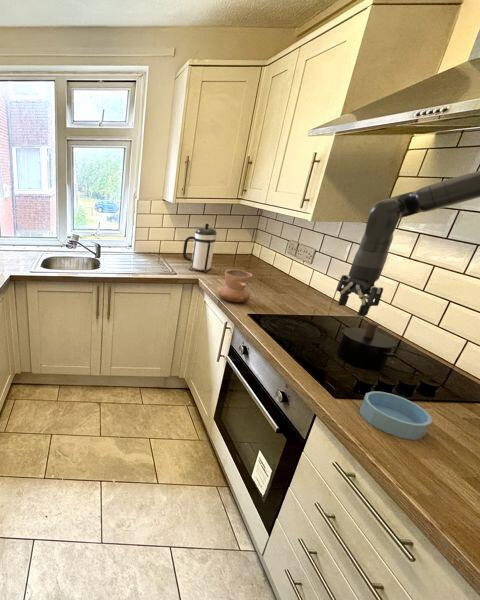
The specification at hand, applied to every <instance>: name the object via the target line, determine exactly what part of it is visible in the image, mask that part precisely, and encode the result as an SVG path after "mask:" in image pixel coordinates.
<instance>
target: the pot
mask: <svg viewBox="0 0 480 600" xmlns="http://www.w3.org/2000/svg"><path fill="white" fill-rule="evenodd" d="M345 328H346V327H343V329H342V331H343V330H344V329H345ZM392 350H393V348H391V349H381V348H374V347H370V346H366V345H363V344H360V343H357V342H354V341H352V340H350V339H349V338H347V337H346V336H344V335H343V334H342V338H341V341H340V343H339V346H338V349H337V352H336V356H337V358H338V359H340V360H341V361H343V362H344V363H346V364H348V365H350V366H352V367H356V368H358V369H362V370H367V371H380V370H383V369H384V367H385V365H386V363H387V361H388V358H394V357H395V353H393V352H392Z"/></svg>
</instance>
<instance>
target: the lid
mask: <svg viewBox="0 0 480 600" xmlns="http://www.w3.org/2000/svg"><path fill="white" fill-rule="evenodd" d="M344 328H345V329H344ZM344 328H343V329H344V330H343V329H342V336H343V335H344V336H346V337H347V338H349V339H350V340H352V341H354V342H357V343H360V344H363V345H366V346H370V347H374V348H381V349H391V348H392V349H394V348H396V347H397V342H396V341H395V340H394V339H393V338H391V337H390V336H388V335H385V334H383V333H381V332H379V331H378V328H379V323H377V322H374V321H369V322H368V325H367V327H366V328H362V327H361V328H360V327H344Z"/></svg>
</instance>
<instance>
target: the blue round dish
mask: <svg viewBox="0 0 480 600" xmlns="http://www.w3.org/2000/svg"><path fill="white" fill-rule="evenodd" d="M359 414H360V416H361V417H362V418H363V419H364V420H365V421H366V422H368V423H369V424H370V425H371V426H372V427H374V428H376V429H377V430H380V431H381V432H383V433H386V434H388V435H390V436H392V437H393V436H394V437H396V438H400V439H404V440H413V441H414V440H420V439H422V438H423V437H424V436H426V434H427V432H428V430H429V428H430V426H432V425H431V424H432V423H433V419H432V416H431V415H430V414H429V412H428V411H427V410H425V409H424V408H423V407H421V406H420V405H418V404H417V403H415V402H413V401H411V400H409V399H407V398H405V397H402V396H399V395H397V394H393V393H389V392H384V391H379V390H378V391H369V392H366V393H365V394H364V396H363V399H362V401H361V404H360V407H359Z"/></svg>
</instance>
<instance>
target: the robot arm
mask: <svg viewBox="0 0 480 600" xmlns="http://www.w3.org/2000/svg"><path fill="white" fill-rule="evenodd" d="M479 198H480V170H478V171H474V172H469V173H466V174H462V175H457V176H455V177H451V178H449V179H445V180H441V181H439V182H435V183H432V184H429V185H426V186H423V187H420V188H418V189H416V190H413V191H409V192H405V193H401V194H398V195H395V196H391V197H387V198H384V199H382V200H379V201H377V202H376V203H374V204H373V205H372V207H371V209H370V210H369V214H368V217H367V220H366V223H365V224H366V225H365V229H364V233H363V236H362V238H361V241H360V243H359V245H358V249H357V251H356V253H355V254H354V258H353V260H352V263H351V266H350V270H349V272H348V274H343V275H341V277H340V278H339V279H340V280H339V282H338V285H337V287H336V291H337V292H339V294H340V295H339V299H338V303H337V304H338V306H339V307H340V306H342V307H344V306H347V303H348V300H349V297H350V295H351V294H353V293H354V294H356V295H357V296H358V299H360V302H361V304H360V306H359V309H358V312H357V316H359V317H366V316H367V315H368V314H369V311H370V308H371V307H378V306H379V304H380V301H381V298H382V295H383V292H384V287H378V286H375V283H376V282H377V281H378V280H380V277H381V275H382V272H383V269H384V267H385V264H386V262H387V258H388V254H389V251H390V248H391V245H392V243H393V240H394V232H395V230H396V228H397V225H398V223H399V221H400V219H404V218H406V217H410V216H413V215H417V214H419V213H427V212H433V211H436V210H440V209H443V208H447V207H450V206H455V205H458V204H462V203H466V202H469V201H472V200H476V199H479Z"/></svg>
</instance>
